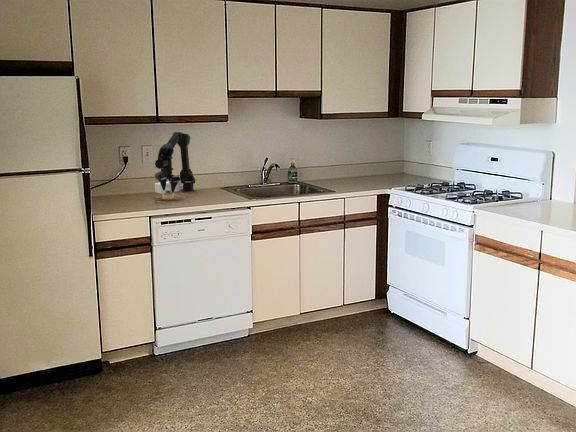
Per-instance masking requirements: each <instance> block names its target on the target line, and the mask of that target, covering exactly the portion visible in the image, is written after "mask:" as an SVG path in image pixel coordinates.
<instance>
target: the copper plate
mask: <svg viewBox="0 0 576 432" xmlns="http://www.w3.org/2000/svg"><path fill="white" fill-rule="evenodd" d="M190 197H191V198H192V197H194V195H193V194H187V193H182V192H176V193H175V198H174V199H170V200H169V201H171V200H172V201H173V200H180V199H185V198H190ZM156 198H158V199H162V195H158V196H156Z"/></svg>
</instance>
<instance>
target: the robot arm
mask: <svg viewBox="0 0 576 432" xmlns="http://www.w3.org/2000/svg"><path fill="white" fill-rule="evenodd" d="M190 140H191V136H190V135H189V134H188V133H183V132H179V131H174V132H173V133H172V135H171V137H170V138H169V140H168V141H167V142H166V143H165V144H162V146H160V148H159V151H158V155H157V159H156V160H155V162H154V165H155V167H156V168H157V169H159V170H160V171H157V172H156V173H154V179H155V180H156V181H157V182H158V183H160V184H161V186H162V189H163V191H164V190H165V188H166V182H168V181H170V182H169V183H170V184H171V191H172V192H171V193H174V190H175V187H176V185H177V183H178V182H179V181H181V183H182V192H186V193H187V192H193V191H194V184H196V178H195V176H194V175H193V171H192V170H191V168H190V158H189V157H190V156H189V145H190V143H191V142H190ZM177 145H178V146H179V148H180V159H181V170H180V172H179V176H178V175H174V174H173V171H174V168H173V165H172V159H174V158H173V156H172V155H174V151H175V150H174V148H175V147H176V146H177Z"/></svg>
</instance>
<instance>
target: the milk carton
mask: <svg viewBox="0 0 576 432" xmlns="http://www.w3.org/2000/svg"><path fill="white" fill-rule="evenodd" d="M169 182H170V181H169V180H167V182H166V188H165V190H164V191H163V189H162V186H161V184H160V182H155V183H154V193H157V194H161V195H162V194H163V193H165V191H166V190H170V191H171V184H170V183H169ZM181 190H182V191H183V183H181V181H179V182H178V183H177V185H176V187H175V190H174V192H176V193H177V192H180V191H181ZM174 192H172V191H171V193H174Z"/></svg>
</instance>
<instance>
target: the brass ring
mask: <svg viewBox="0 0 576 432" xmlns="http://www.w3.org/2000/svg"><path fill="white" fill-rule="evenodd" d="M175 194H176V193H174V192H171V194H169V195H166V194H165V193H162V194H161V196H162V198H161V199H162V200H167V201H171V200H170V199H174V198H175ZM174 200H175V199H174Z"/></svg>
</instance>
